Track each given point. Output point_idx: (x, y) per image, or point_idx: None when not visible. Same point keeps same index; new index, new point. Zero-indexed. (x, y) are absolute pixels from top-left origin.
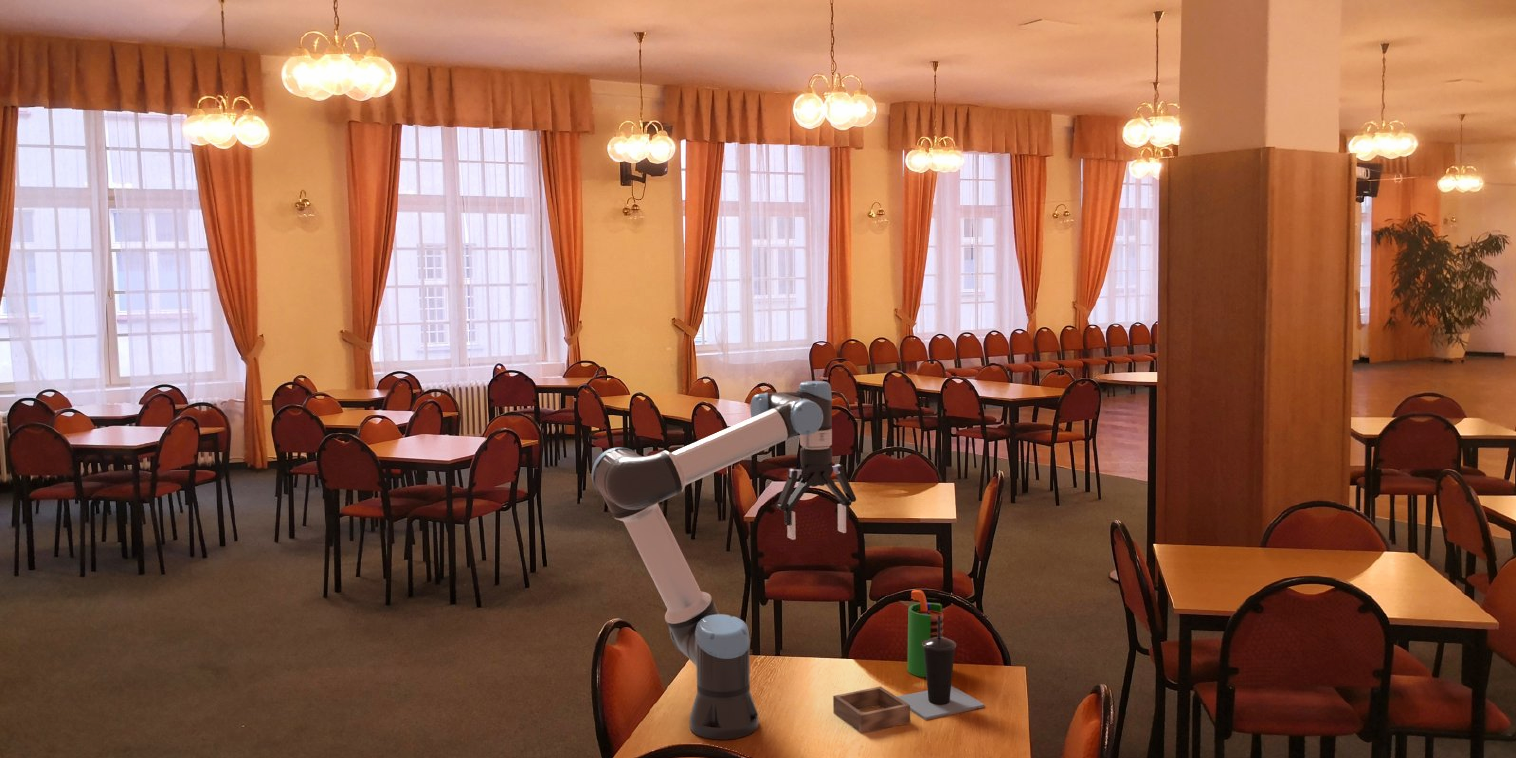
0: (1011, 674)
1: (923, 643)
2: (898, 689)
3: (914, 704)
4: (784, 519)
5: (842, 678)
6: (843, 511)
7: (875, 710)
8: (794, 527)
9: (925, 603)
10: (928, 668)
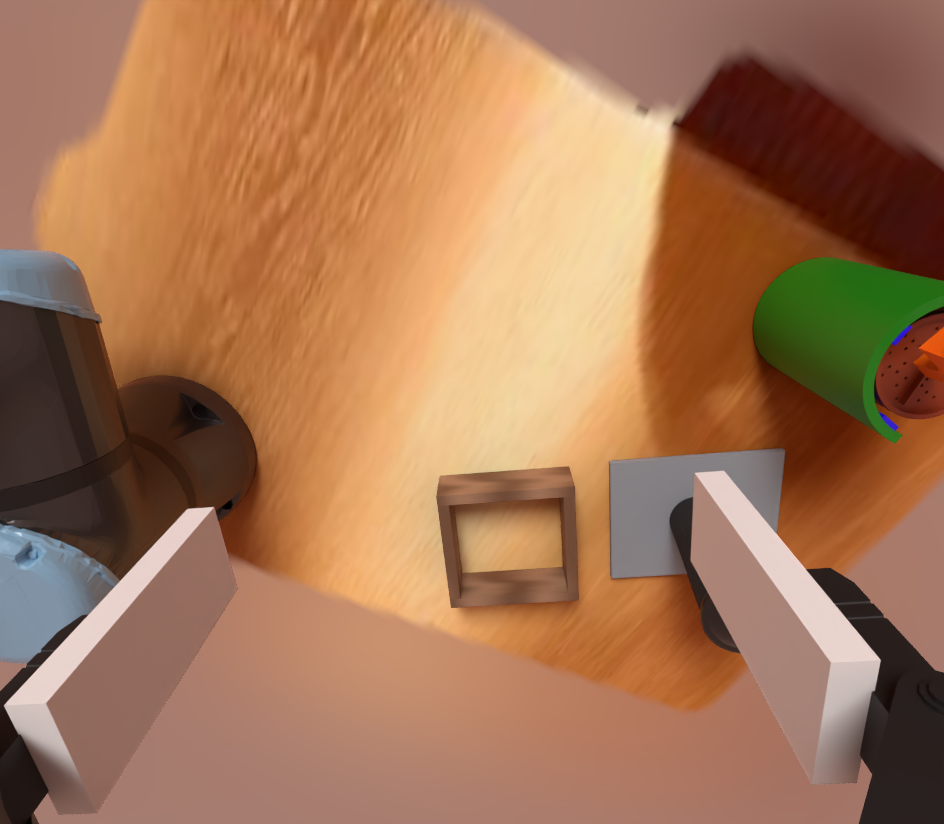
0: None
1: (710, 601)
2: (656, 408)
3: (630, 515)
4: (38, 660)
5: (559, 280)
6: (782, 720)
7: (492, 597)
8: (181, 663)
9: None
10: (688, 576)
